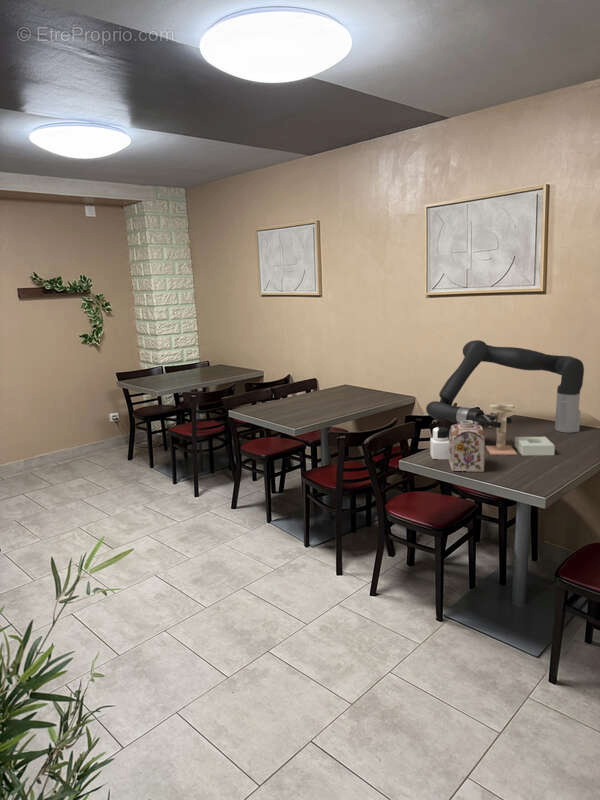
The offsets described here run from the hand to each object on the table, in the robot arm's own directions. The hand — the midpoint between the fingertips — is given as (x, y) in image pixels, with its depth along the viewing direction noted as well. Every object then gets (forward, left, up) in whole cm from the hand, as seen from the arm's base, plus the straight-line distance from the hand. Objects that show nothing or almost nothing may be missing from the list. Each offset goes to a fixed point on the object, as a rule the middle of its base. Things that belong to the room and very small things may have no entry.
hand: (506, 423), depth 223 cm
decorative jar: (+18, +18, -12) cm, 28 cm away
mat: (+1, -1, -12) cm, 12 cm away
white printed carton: (+26, +6, -12) cm, 30 cm away
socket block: (-12, -1, -12) cm, 17 cm away
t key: (+1, -1, -12) cm, 12 cm away
